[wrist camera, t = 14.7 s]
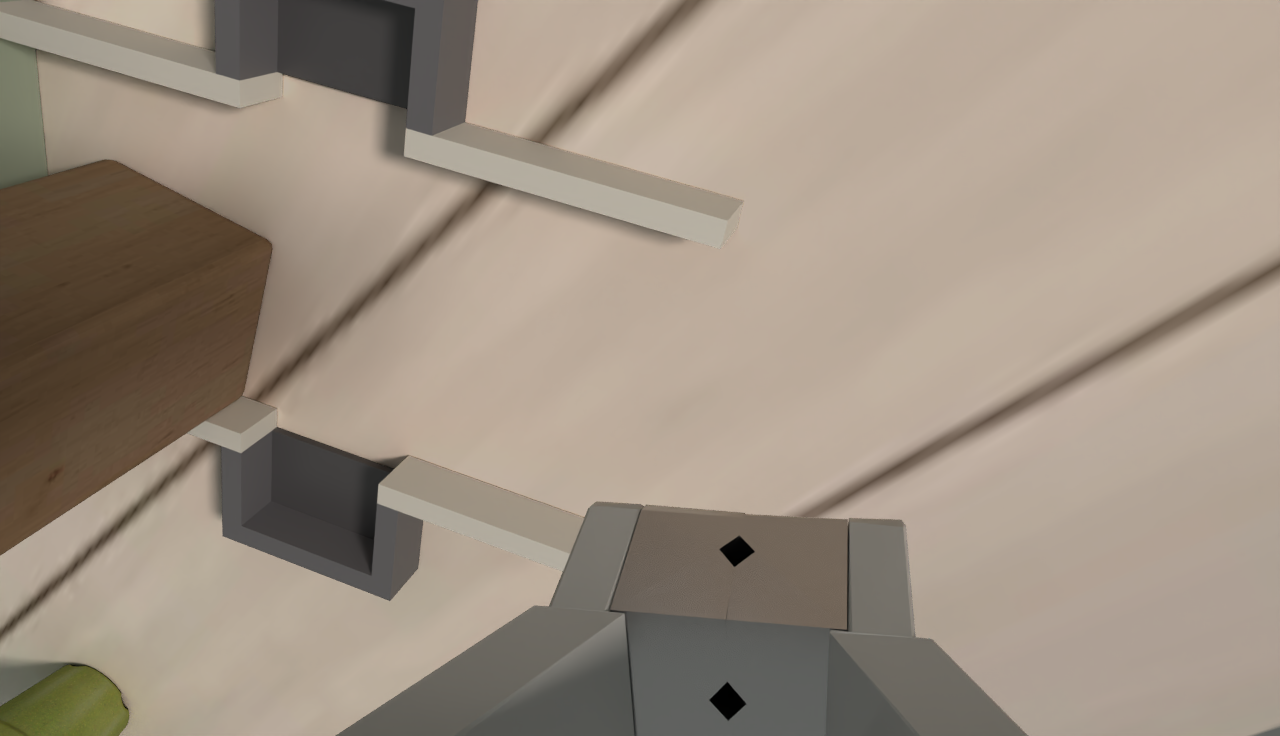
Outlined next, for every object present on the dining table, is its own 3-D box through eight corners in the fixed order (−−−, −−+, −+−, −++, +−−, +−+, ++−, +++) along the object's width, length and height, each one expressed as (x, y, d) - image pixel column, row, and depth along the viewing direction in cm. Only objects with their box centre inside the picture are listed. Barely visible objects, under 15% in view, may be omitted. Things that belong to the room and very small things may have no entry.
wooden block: (246, 398, 54) (-103, 629, 36) (94, 315, 55) (-317, 503, 37) (278, 241, 49) (-108, 422, 31) (110, 153, 50) (-355, 282, 32)
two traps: (480, -22, 40) (445, -17, 38) (418, 568, 55) (390, 600, 52) (260, -77, 42) (213, -76, 40) (257, 507, 57) (222, 535, 54)
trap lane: (743, 201, 41) (715, 235, 36) (653, 562, 50) (622, 624, 45) (10, -7, 48) (-87, 2, 43) (47, 344, 57) (-30, 380, 52)
